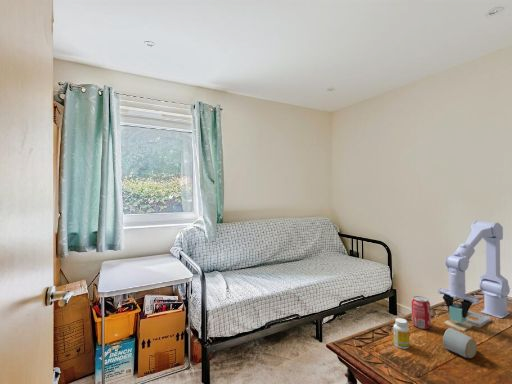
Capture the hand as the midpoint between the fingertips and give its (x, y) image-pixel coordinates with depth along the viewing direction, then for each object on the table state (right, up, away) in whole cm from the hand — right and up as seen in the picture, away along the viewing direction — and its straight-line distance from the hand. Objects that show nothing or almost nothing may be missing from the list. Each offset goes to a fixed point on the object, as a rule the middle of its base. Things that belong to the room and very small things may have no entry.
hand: (457, 314), depth 120 cm
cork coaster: (0, -4, 0) cm, 4 cm away
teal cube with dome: (0, -2, 0) cm, 2 cm away
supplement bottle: (-32, -6, -14) cm, 36 cm away
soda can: (-16, -5, 0) cm, 17 cm away
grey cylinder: (-13, -5, -19) cm, 24 cm away
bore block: (+9, -4, +5) cm, 11 cm away
